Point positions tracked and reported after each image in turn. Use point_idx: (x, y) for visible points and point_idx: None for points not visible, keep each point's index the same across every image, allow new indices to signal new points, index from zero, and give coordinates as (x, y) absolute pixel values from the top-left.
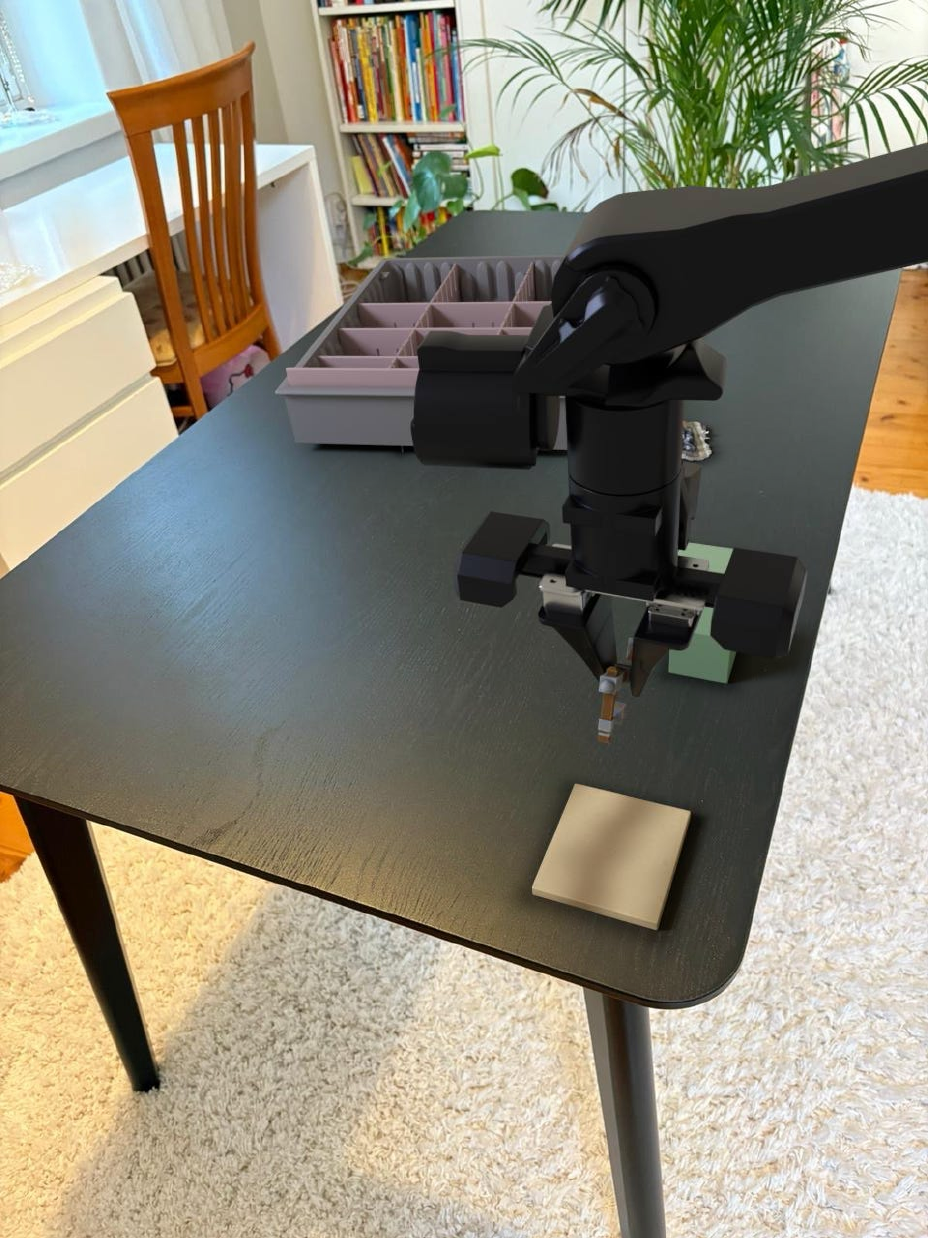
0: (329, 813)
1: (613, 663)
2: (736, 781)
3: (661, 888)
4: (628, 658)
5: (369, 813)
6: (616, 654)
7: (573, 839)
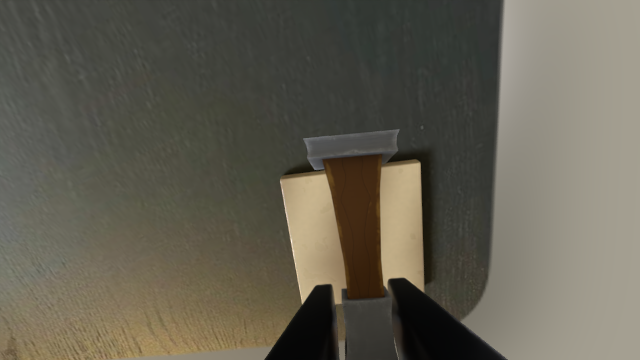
0: (77, 299)
1: (334, 357)
2: (455, 78)
3: (417, 263)
4: (350, 264)
5: (110, 285)
6: (329, 334)
7: (314, 248)
